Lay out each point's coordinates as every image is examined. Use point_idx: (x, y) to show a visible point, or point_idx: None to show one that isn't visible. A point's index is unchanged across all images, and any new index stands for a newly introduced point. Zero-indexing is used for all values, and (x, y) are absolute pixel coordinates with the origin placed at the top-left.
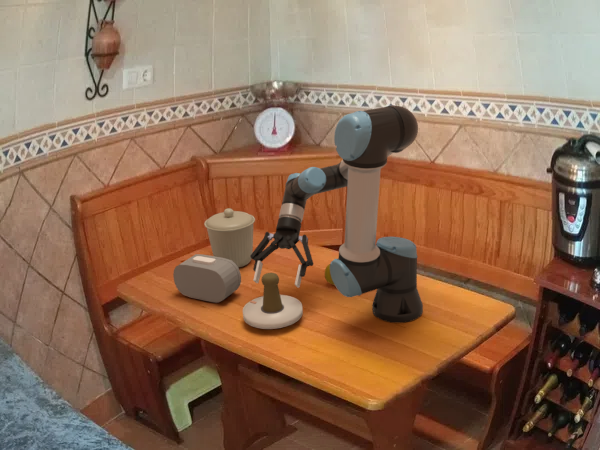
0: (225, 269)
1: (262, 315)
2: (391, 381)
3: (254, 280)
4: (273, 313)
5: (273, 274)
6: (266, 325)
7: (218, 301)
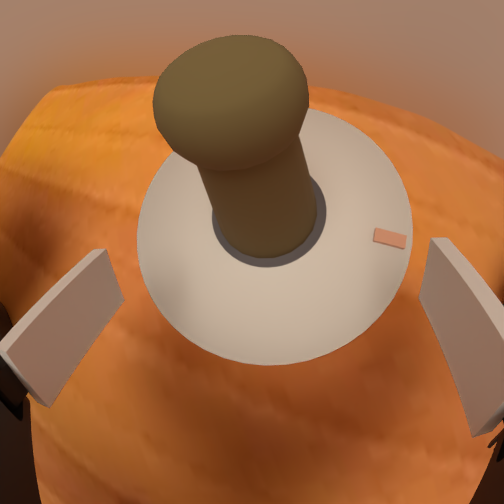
0: None
1: None
2: (28, 125)
3: (438, 239)
4: None
5: (183, 73)
6: None
7: None
